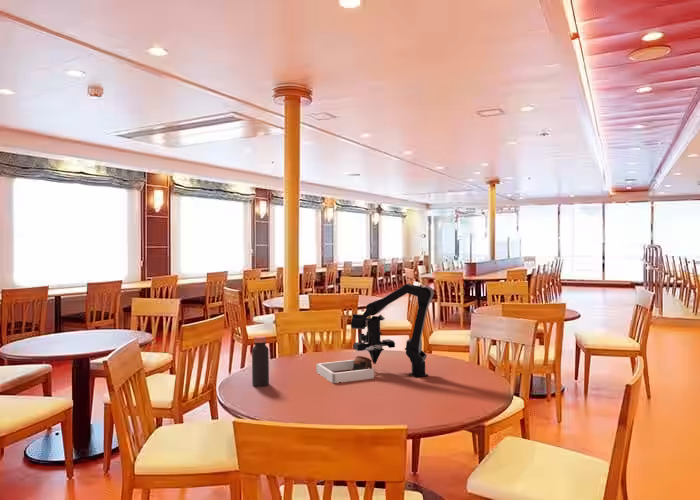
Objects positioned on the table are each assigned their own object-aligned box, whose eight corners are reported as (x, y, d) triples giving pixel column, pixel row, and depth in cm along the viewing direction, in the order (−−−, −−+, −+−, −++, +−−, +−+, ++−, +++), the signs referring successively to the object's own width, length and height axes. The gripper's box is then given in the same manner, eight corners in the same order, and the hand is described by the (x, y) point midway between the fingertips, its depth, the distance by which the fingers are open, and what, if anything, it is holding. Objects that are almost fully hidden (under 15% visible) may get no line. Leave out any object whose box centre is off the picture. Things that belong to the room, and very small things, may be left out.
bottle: (265, 387, 204) (264, 338, 203) (249, 386, 205) (249, 337, 205) (271, 382, 210) (270, 335, 210) (256, 382, 212) (255, 335, 211)
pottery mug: (346, 372, 228) (351, 355, 231) (363, 379, 231) (367, 362, 234) (359, 371, 218) (364, 353, 221) (376, 378, 221) (381, 361, 224)
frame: (374, 378, 216) (373, 369, 216) (332, 383, 208) (332, 373, 208) (354, 368, 235) (354, 359, 235) (316, 372, 227) (316, 363, 227)
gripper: (384, 325, 238) (384, 358, 238) (348, 328, 231) (348, 362, 231) (395, 329, 228) (395, 363, 228) (358, 332, 221) (358, 367, 221)
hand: (374, 363), depth 227 cm, fingers closed
